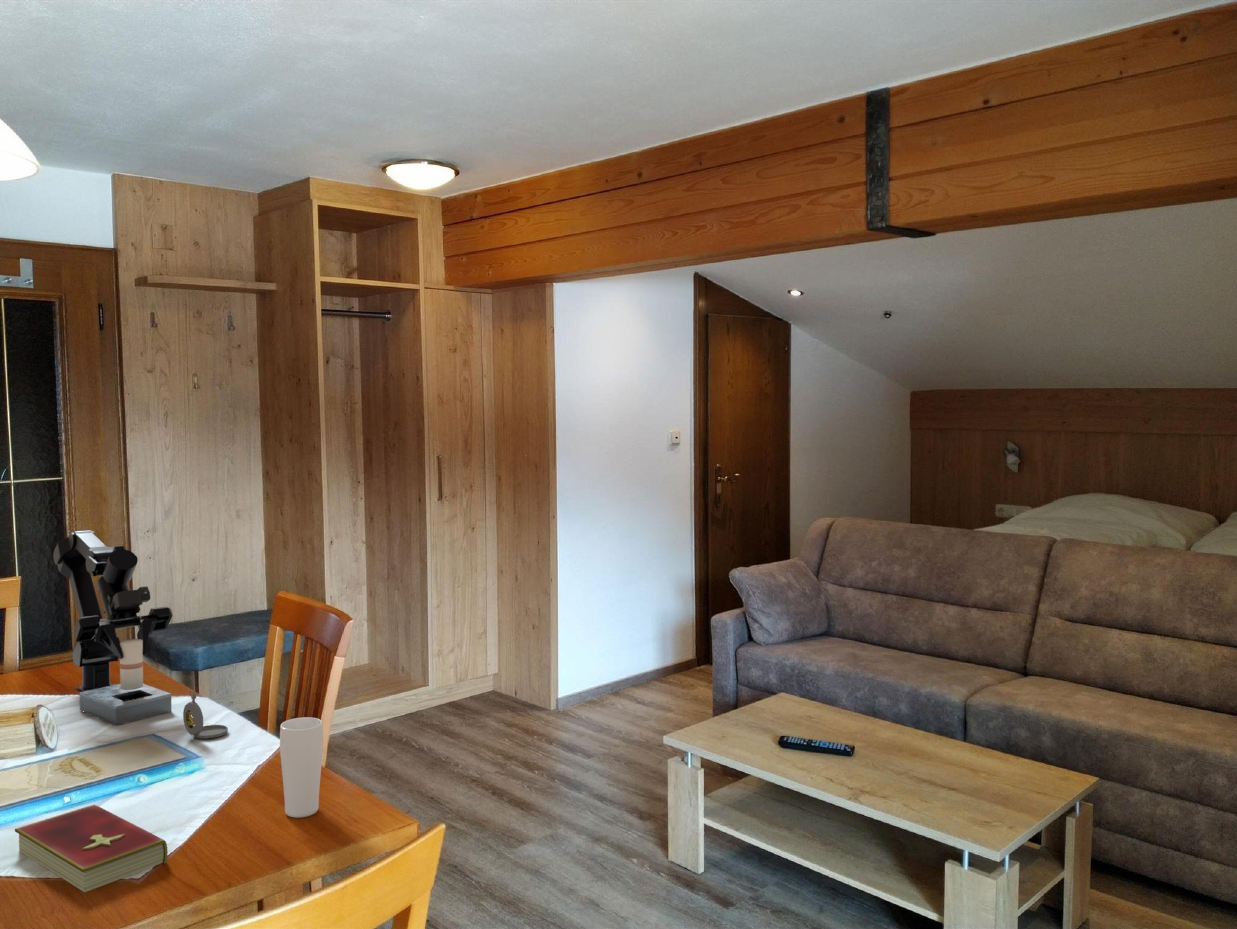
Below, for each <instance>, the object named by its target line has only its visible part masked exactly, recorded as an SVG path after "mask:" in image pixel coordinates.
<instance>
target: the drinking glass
mask: <svg viewBox="0 0 1237 929" xmlns="http://www.w3.org/2000/svg"><path fill="white" fill-rule="evenodd" d="M323 723H324V722H323V721H322V720H321V719H319V718H317V717H310V716H309V717H305V716H304V717H302V716H301V717H296V718H291V719H287V720H285V721H283V722H282V723H281V724H280V727H279V728H280V730H279V754H280V764H281V774H282V786H283V795H284V796H283V797H284V812H285V814H286V815H287V816H288V817H290V818H294V819H295V818H296V819H297V818H298V819H299V818H307V817H310V816H312V815H314V814H316V813H317V812H318V811H319V806H320V787H321V786H320V784H321V773H322V765H323V764H322V762H323V754H324V753H323V752H324V727H323V726H324V724H323Z"/></svg>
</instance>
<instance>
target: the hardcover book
mask: <svg viewBox="0 0 1237 929" xmlns="http://www.w3.org/2000/svg"><path fill="white" fill-rule="evenodd" d="M14 832H15V833H16V834H18V851H19V853H21V854H22V855H24V856H26V857H27V858H29V859H31V860H32V861H34V862H35V863H36V864H38V865H40V866H42V867H43V868H45V869H47V870H48V871H49V872H51V873H52V874H54V875H56V876H58V877H59V878H61V879H62V880H64V881H66V883H68V884H70V885H72V886H74V888H76V889H78V890H80V891H82V892H83V893H88V892H90V891H93V890H95V889H96V890H97V889H98V888H100V887H103V886H105V885H109V884H111V883H113V882H116V881H119V880H121V879H124V878H126V877H129V876H132V875H134V874H137V873H140V872H142V871H145V870H147V869H151V868H153V867H155V866H158V865H160V864H167V862H168V844H167V841H166V840H165V839H164V838H161V837H159V836H157V835H156V834H153V833H151V832H149V831H147V830H145V829H144V828H142V827H141V826H137V825H136V824H134V823H132V822H130V821H128V820H126V819H124V818H122V817H120V816H118V815H117V814H114V813H112V812H111V811H109V810H106V809H104V808H103V807H100V806H99V805H97V804H96V803H95V804H90V805H88V806H84V807H81V808H78V809H75V810H71V811H68V812H65V813H62V814H58V815H56V816H52V817H49V818H46V819H43V820H39V821H36V822H32V823H30V824H25V825H22V826H19V827H17V828H14Z"/></svg>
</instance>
